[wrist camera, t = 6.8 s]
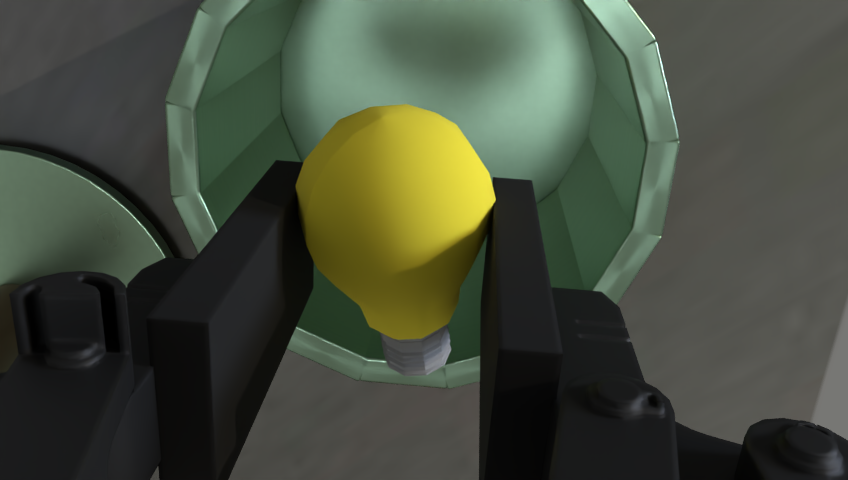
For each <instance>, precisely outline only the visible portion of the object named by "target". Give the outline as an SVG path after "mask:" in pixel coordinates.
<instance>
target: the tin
mask: <svg viewBox="0 0 848 480" xmlns="http://www.w3.org/2000/svg"><path fill="white" fill-rule="evenodd" d="M165 101H166V103H165V114H166V129H167V145H168V160H169V175H170V191H171V195H172V196H173V197H172V201H173V203H174V205H175V207H176V209H177V211H178V213H179V215H180V217H181V219H182V221H183V223H184V225H185V228H186V230H187V232H188V234H189V236H190V238H191V240H192V242H193V244H194V246H195V248H196V250H197V252H198V254H199V253H200V252H201V251H202V249H203V248H204V247H205V246H206V245H207V243H208V242H209V241H210V240H211V238H212V237H213V236H214V235H215V234H216V232H217V231H218V230H219V229H220V228H221V226H222V225H223V224H224V223H225V221H226V220H227V219H228V218H229V217H230V215H231V214H232V213H233V212H234V211H235V209H236V208H237V207H238V206H239V205H240V203H241V202H242V201H243V200H244V198H245V197H246V196H247V195H248V194H249V192H250V191H251V190H252V189H253V188H254V186H255V185H256V184H257V183H258V181H259V180H260V179H261V178H262V177H263V175H264V174H265V173H266V172H267V171H268V169H269V168H270V167H271V166H272V164H273V163H274V162H275V161H276V160H283V161H295V162H304V160H305V159H306V158H307V157H308V155H309V154H310V153H311V152H312V151H313V149H314V148H315V147H316V146H317V145H318V143H319V142H320V141H321V140H322V138H323V137H324V136H325V135H326V134H327V133H328V131H329V130H330V129H331V128H332V127H333V126H334V125H335V124H336V122H337V121H338V120H339V119H342V118H344V117H347V116H349V115H352V114H354V113H357V112H359V111H361V110H364V109H366V108H369V107H374V106H388V105H402V104H408V105H412V106H415V107H418V108H422V109H425V110H428V111H432V112H435V113H437V114H439V115H441V116H442V117H444V118H446V119H448V120H449V121H451V122H453V123H455V124H456V125H457V126H458V127H459V129H460V130H461V132H462V133H463V134H464V136H465V137H466V139H467V140H468V142H469V143H470V144H471V146H472V147H473V149H474V150H475V152H476V154H477V155H478V157H479V158H480V160H481V161H482V163H483V164H484V166H485V167H486V169H487V170H488V172H489V174H490V178H491V182H492V181H493V177H499V178H511V179H524V180H532V183H533V189H534V194H535V200H536V205H537V211H538V216H539V222H540V228H541V233H542V239H543V244H544V250H545V255H546V261H547V267H548V272H549V278H550V283H551V287H555V288H567V289H578V290H590V291H601V292H603V293H604V294H605V295H606V296H607V297H608V298H609V299H611V300H612V301H613V302H614V303H615V304H616V305H617V304H618V302H619V301H620V299H621V298H622V296H623V295H624V293H625V292H626V290H627V289H628V287H629V286H630V284H631V283H632V281H633V280H634V278H635V277H636V275H637V274H638V272H639V271H640V269H641V268H642V266H643V265H644V263H645V262H646V260H647V259H648V257H649V256H650V254H651V253H652V251H653V250H654V248H655V247H656V245H657V244H658V242H659V241H660V239H661V236H662V234H663V229H664V224H665V218H666V213H667V208H668V203H669V197H670V192H671V187H672V182H673V176H674V171H675V166H676V161H677V155H678V150H679V145H680V142H679V133H678V128H677V124H676V120H675V116H674V111H673V107H672V103H671V98H670V94H669V90H668V86H667V81H666V77H665V73H664V68H663V64H662V60H661V56H660V51H659V47H658V43H657V42H656V40H655V36H654V35H653V33H652V32H651V31H650V30H649V28H648V27H647V26H646V24H645V23H644V22H643V20H642V19H641V18H640V16H639V15H638V14H637V13H636V11H635V10H634V9H633V7H632V6H631V5H630V3H629V2H628V1H627V0H204V1H203V2H202V3H201V4H200V6H199V8H198V9H197V11H196V13H195V16H194V19H193V22H192V24H191V27H190V30H189V33H188V36H187V38H186V41H185V44H184V47H183V50H182V52H181V55H180V58H179V61H178V64H177V66H176V69H175V72H174V75H173V78H172V80H171V83H170V86H169V89H168V92H167V94H166V97H165ZM486 242H487V236H486V238H485V240H484V242H483V245H482V247H481V249H480V251H479V253H478V255H477V257H476V260H475V262H474V263H473V265H472V267H471V269H470V271H469V273H468V275H467V277H466V279H465V280H464V282H463V283H462V285H461V287H460V294H459V301H458V304H457V306H456V309H455V311H454V313H453V315H452V317H451V319H450V321H449V323H448V324H447V325H448V328H449V331H448V332H449V334H450V336H449V338H450V343H449V344H450V347H451V352H450V354H449V356H448V358H447V361H446V363H445V365H444V366H442V367H440V368H439V369H437V370H435V371H433V372H432V373H430V374H428V375H424V376H404V375H402V374H400V373H398V372H396V371H394V370H392V369H391V368H389V367H388V364H387V362H386V359H385V356H384V353H383V347H382V341H381V339H380V338H381V336H380V332H379V331H377V330H375V329H373V328H371V327H369V325H368V323H367V320H366V318H365V316H364V314H363V312H362V310H361V307H360V306H359V305H358V304H357V303H356V302H354V301H353V300H352V299H351V298H349V297H348V296H347V295H346V294H344V293H343V292H342V291H341V290H340V289H338V288H337V287H336V286H335V285H334V284H333V283H332V282H331V281H329V280H328V279H327V278H326V277H325V276H324V275H323V274H322V273H321V272H320V271H319V270H318V269H317V267H316V265H315V263H314V287H313V290H312V293H311V295H310V297H309V299H308V302H307V304H306V306H305V308H304V311H303V313H302V315H301V317H300V320H299V322H298V324H297V326H296V329H295V331H294V333H293V335H292V337H291V340H290V342H289V344H288V346H287V349H288V350H290V351H292V352H295V353H297V354H299V355H301V356H303V357H306V358H308V359H310V360H312V361H315V362H317V363H319V364H321V365H323V366H326V367H328V368H330V369H332V370H335V371H337V372H339V373H341V374H343V375H346V376H348V377H350V378H352V379H354V380H357V381H359V380H361V381H368V382H379V383H390V384H401V385H413V386H424V387H435V388H448V389H451V388H455V387H459V386H463V385H467V384H471V383H475V382H479V381H480V307H481V293H482V282H483V272H484V262H485V252H486Z"/></svg>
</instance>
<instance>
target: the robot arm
mask: <svg viewBox="0 0 848 480" xmlns="http://www.w3.org/2000/svg"><path fill="white" fill-rule="evenodd" d="M303 163H304V162H295V161H283V160H276V161H275V162H274V163H273V164H272V166H271V167H270V168H269V169H268V171H267V172H266V173H265V174H264V175H263V177H262V178H261V179H260V180H259V181H258V183H257V184H256V185H255V186H254V188H253V189H252V190H251V191H250V192H249V194H248V195H247V196H246V197H245V198H244V200H243V201H242V202H241V203H240V205H239V206H238V207H237V208H236V209H235V211H234V212H233V213H232V214H231V215H230V217H229V218H228V219H227V220H226V221H225V223H224V224H223V225H222V226H221V228H220V229H219V230H218V231H217V232H216V234H215V235H214V236H213V237H212V238H211V240H210V241H209V242H208V243H207V245H206V246H205V247H204V248H203V249H202V251H201V252H200V253H199V254H198V255H197V257H196V258H195V259H182V258H170V257H166V258H164V259H162V260H160V261H158V262H156V263H153V264H151V265H149V266H147V267H145V268H143V269H141V270H140V272H139V273H138V274H137V275H136V276H135V277H134V278H133V279H132V280H131V281H130V282H129V283H128V284H127V287H126V285H125V284H124V283H123V282H122V281H121V280H119V279H118V278H117V277H114V276H111V275H108V274H105V273H101V272H90V271H74V272H60V273H56V274H51V275H47V276H42V277H39V278H36V279H34V280H31V281H29V282H26V283H24V284H22V285H20V286H19V287H18V288H16V289H15V290H14V291H12V292H11V293H10V294H9V296H10V303H11V309H12V316H13V322H14V328H15V335H16V341H17V348H18V356H17V357H16V359H15V360H14V362H13V363H12V365H11V366H10V368H9V369H8V371H7V372H3V373H0V480H150V478H151V477H152V475H153V473H154V472H155V470H156V468H157V466H158V467H159V479H160V480H228V479H229V476H230V474H231V472H232V470H233V467H234V465H235V463H236V461H237V459H238V456H239V454H240V452H241V450H242V447H243V445H244V443H245V441H246V438H247V436H248V434H249V432H250V429H251V427H252V425H253V423H254V420H255V418H256V416H257V414H258V411H259V409H260V407H261V405H262V402H263V400H264V398H265V396H266V394H267V391H268V389H269V387H270V385H271V382H272V380H273V378H274V376H275V373H276V371H277V369H278V367H279V364H280V362H281V360H282V358H283V355H284V353H285V351H286V349H287V346H288V344H289V342H290V340H291V337H292V335H293V333H294V331H295V329H296V326H297V324H298V322H299V320H300V317H301V315H302V313H303V311H304V308H305V306H306V304H307V302H308V299H309V297H310V295H311V293H312V290H313V287H314V261H313V259H312V256H311V254H310V252H309V250H308V248H307V245H306V242H305V238H304V234H303V231H302V227H301V224H300V220H299V216H298V208H297V191H296V183H297V180H298V177H299V174H300V171H301V168H302V166H303ZM492 186H493V190H494V194H495V198H496V201H495V203H494V206H493V214H492V222H491V228H490V230H489V232H488V234H487V242H486V252H485V262H484V272H483V282H482V293H481V307H480V436H479V480H848V440H846V439H844V438H843V437H841V436H839V435H837V434H836V433H833V432H832V431H830V430H829V429H827V428H824V427H822V426H819V425H817V426H816V425H815V424H814V423H810V422H806V421H798V420H791V419H785V418H779V419H764V420H762V421H759V422H757V423H755V424H753V425H751V426H750V427H749V429H748V431H747V433H746V435H745V437H744V441H743V445H741V444H737V443H734V442H730V441H726V440H723V439H719V438H716V437H712V436H709V435H706V434H703V433H700V432H697V431H694V430H692V429H689V428H687V427H686V426H684V425H682V424H680V423H678V422H676V421H675V413H674V410H673V408H672V405H671V403H670V400H669V399H668V398H667V397H666V396H664V395H663V394H662V393H661V392H660V391H659V390H658V389H657V388H655V387H653V386H651V385H649V384H647V383H645V381H644V378H643V375H642V372H641V369H640V366H639V363H638V360H637V357H636V355H635V352H634V349H633V346H632V343H631V342H630V337H629V334H628V331H627V328H625V322H624V319H623V316H622V314H621V311H620V308H619V307H618V306H617V305H616V304H615V303H614V302H613V301H612V300H611V299H609V298H608V297H607V296H606V295H605V294H604V293H603V292H601V291H590V290H578V289H567V288H555V287H551V283H550V278H549V272H548V267H547V261H546V255H545V250H544V244H543V239H542V233H541V228H540V222H539V216H538V211H537V205H536V200H535V194H534V189H533V183H532V180H524V179H511V178H499V177H493V181H492Z"/></svg>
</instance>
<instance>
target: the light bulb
mask: <svg viewBox="0 0 848 480" xmlns="http://www.w3.org/2000/svg"><path fill="white" fill-rule="evenodd" d="M296 191H297V208H298V216H299V220H300V224H301V227H302V231H303V234H304V238H305V242H306V245H307V248H308V250H309V252H310V254H311V256H312V259H313V261H314V263H315V265H316V267H317V269H318V270H319V271H320V272H321V273H322V274H323V275H324V276H325V277H326V278H327V279H328V280H329V281H331V282H332V283H333V284H334V285H335V286H336V287H337V288H338V289H340V290H341V291H342V292H343V293H344V294H346V295H347V296H348V297H349V298H351V299H352V300H353V301H354V302H356V303H357V304H358V305H359V306H360V307H361V310H362V312H363V314H364V316H365V318H366V320H367V323H368V325H369V327H371V328H373V329H375V330H377V331H379V332H380V336H381V338H380V339H381V341H382V347H383V353H384V356H385V359H386V362H387V364H388V367H389V368H391V369H392V370H394V371H396V372H398V373H400V374H402V375H404V376H424V375H428V374H430V373H432V372H433V371H435V370H437V369H439V368H440V367H442V366H444V365H445V363H446V361H447V358H448V356H449V354H450V352H451V347H450V344H449V343H450V338H449V336H450V334H449V332H448V331H449V328H448V325H447V324H448V323H449V321H450V319H451V317H452V315H453V313H454V311H455V309H456V306H457V304H458V301H459V294H460V287H461V285H462V283H463V282H464V280H465V279H466V277H467V275H468V273H469V271H470V269H471V267H472V265H473V263H474V262H475V260H476V257H477V255H478V253H479V251H480V249H481V247H482V245H483V242H484V240H485V238H486V236H487V234H488V232H489V230H490V228H491V222H492V214H493V206H494V203H495V201H496V198H495V194H494V190H493V186H492V182H491V178H490V174H489V172H488V170H487V169H486V167H485V166H484V164H483V163H482V161H481V160H480V158H479V157H478V155H477V154H476V152H475V150H474V149H473V147H472V146H471V144H470V143H469V142H468V140H467V139H466V137H465V136H464V134H463V133H462V132H461V130H460V129H459V127H458V126H457V125H456V124H455V123H453V122H451V121H449V120H448V119H446V118H444V117H442V116H441V115H439V114H437V113H435V112H432V111H428V110H425V109H422V108H418V107H415V106H412V105H408V104H402V105H388V106H374V107H369V108H366V109H364V110H361V111H359V112H357V113H354V114H352V115H349V116H347V117H344V118H342V119H339V120H338V121H337V122H336V124H335V125H334V126H333V127H332V128H331V129H330V130H329V131H328V133H327V134H326V135H325V136H324V137H323V138H322V140H321V141H320V142H319V143H318V145H317V146H316V147H315V148H314V149H313V151H312V152H311V153H310V154H309V155H308V157H307V158H306V159H305V160H304V163H303V166H302V168H301V171H300V174H299V177H298V180H297V183H296Z"/></svg>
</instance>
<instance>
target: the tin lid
mask: <svg viewBox="0 0 848 480" xmlns="http://www.w3.org/2000/svg"><path fill="white" fill-rule="evenodd" d="M166 257H170V258H174V256H173V254H172V253H171V251H170V249H169V247H168V246H167V244H166V242H165V241H164V240H163V238H162V237H161V235H160V234H159V233H158V231H157V230H156V229H155V227H154V226H153V225H152V223H151V222H150V221H149V220H148V219H147V218H146V217H145V216H144V215H143V214H142V213H141V212H140V211H139V209H138V208H137V207H136V206H135V205H134V204H132V203H131V202H130V201H129V200H128V199H127V198H125V197H124V196H123V195H122V194H121V193H120V192H118V191H117V190H116V189H114V188H113V187H112V186H110V185H109V184H107V183H106V182H104V181H103V180H101V179H100V178H98V177H97V176H95V175H93V174H92V173H90V172H88V171H86V170H84V169H82V168H80V167H78V166H77V165H75V164H73V163H70V162H68V161H65V160H62V159H60V158H57V157H55V156H52V155H50V154H46V153H42V152H38V151H35V150H31V149H27V148H21V147H14V146H7V145H0V373H3V372H7V371H8V369H9V368H10V366H11V365H12V363H13V362H14V360H15V359H16V357H17V356H18V348H17V341H16V335H15V328H14V322H13V316H12V309H11V303H10V296H9V294H10V293H11V292H12V291H14V290H15V289H16V288H18V287H19V286H20V285H22V284H24V283H26V282H29V281H31V280H34V279H36V278H39V277H42V276H47V275H51V274H56V273H60V272H74V271H90V272H101V273H105V274H108V275H111V276H114V277H117V278H118V279H119V280H121V281H122V282H123V283H124V284H125V285H126V287H127V284H128V283H129V282H130V281H131V280H132V279H133V278H134V277H135V276H136V275H137V274H138V273H139V272H140V270H141V269H143V268H145V267H147V266H149V265H151V264H153V263H156V262H158V261H160V260H162V259H164V258H166Z"/></svg>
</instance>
